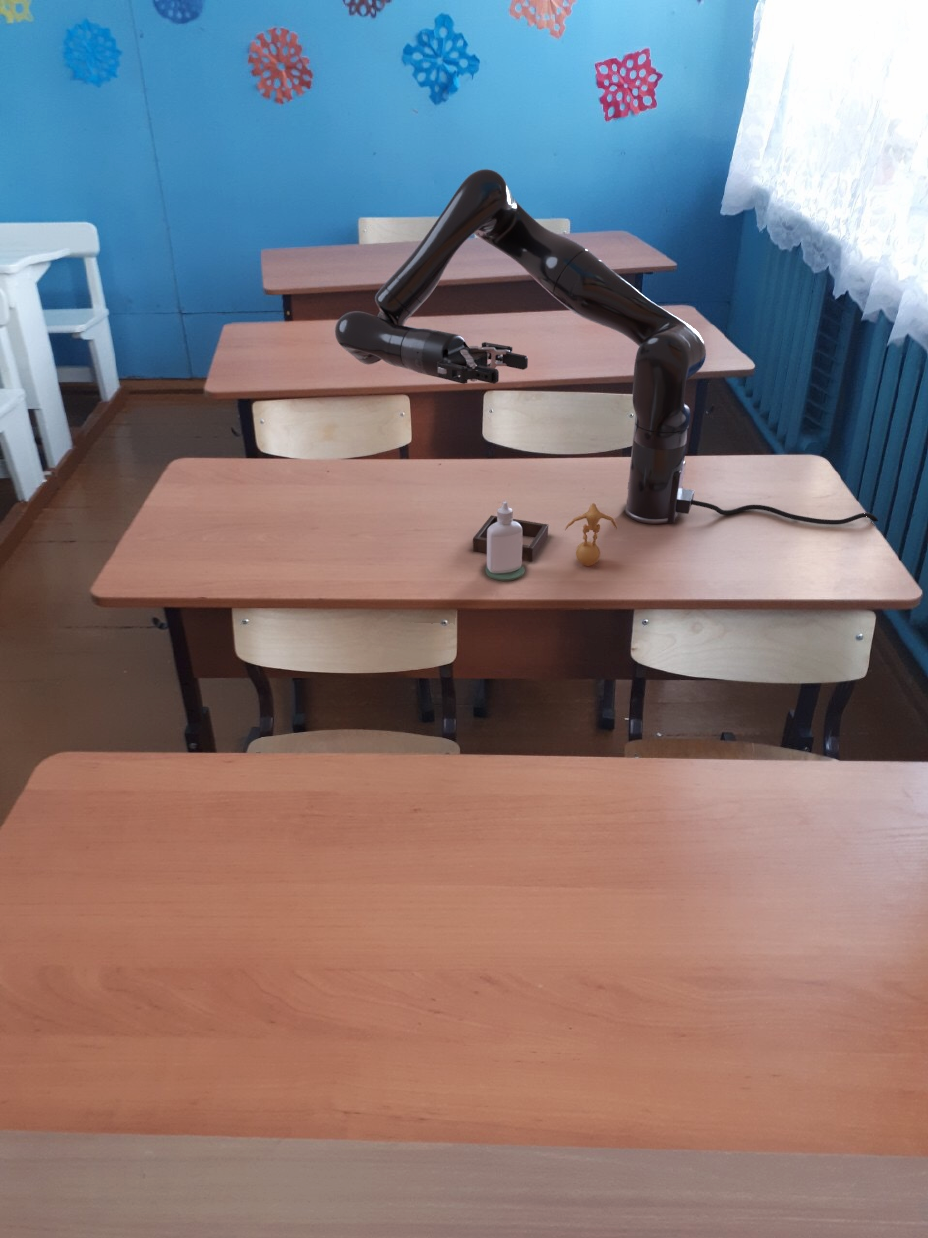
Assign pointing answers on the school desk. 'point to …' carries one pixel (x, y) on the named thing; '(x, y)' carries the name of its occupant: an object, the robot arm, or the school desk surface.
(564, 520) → the school desk surface
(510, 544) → the eye dropper bottle
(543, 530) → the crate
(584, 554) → the figurine
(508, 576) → the coaster
